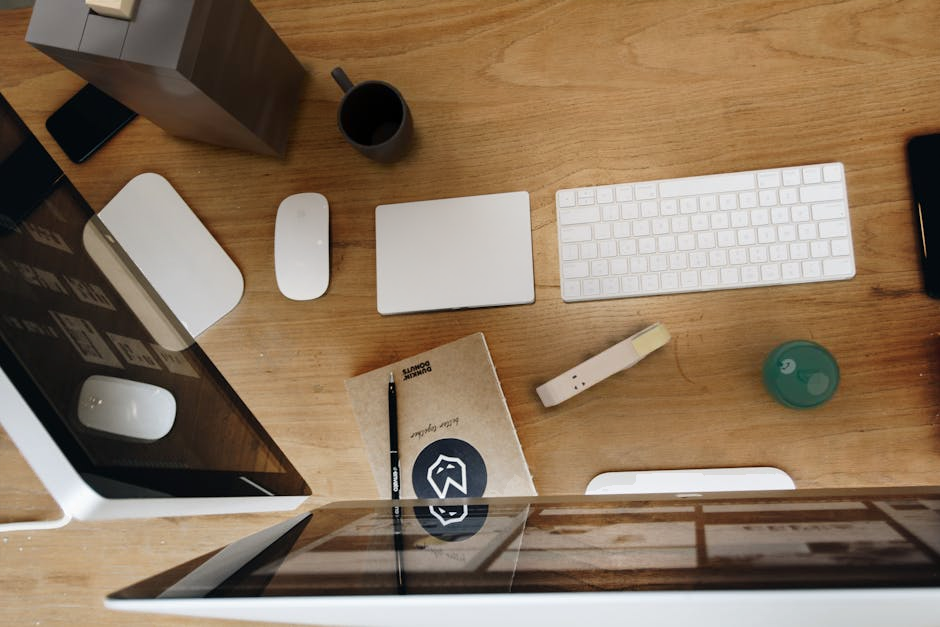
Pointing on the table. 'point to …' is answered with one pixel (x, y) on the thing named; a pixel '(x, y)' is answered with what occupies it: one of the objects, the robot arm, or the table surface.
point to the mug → (374, 119)
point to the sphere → (800, 375)
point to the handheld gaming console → (603, 365)
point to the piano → (182, 66)
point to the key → (113, 8)
